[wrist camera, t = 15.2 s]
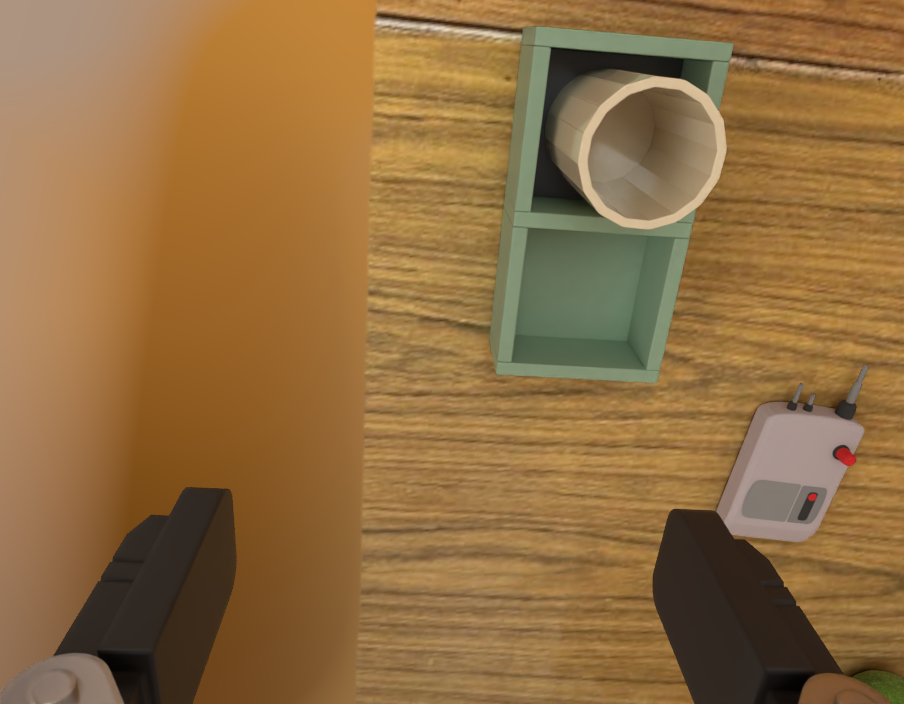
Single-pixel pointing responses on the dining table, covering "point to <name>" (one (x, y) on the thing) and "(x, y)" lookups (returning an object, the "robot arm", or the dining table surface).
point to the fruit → (884, 684)
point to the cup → (636, 145)
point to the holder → (586, 226)
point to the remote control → (791, 467)
